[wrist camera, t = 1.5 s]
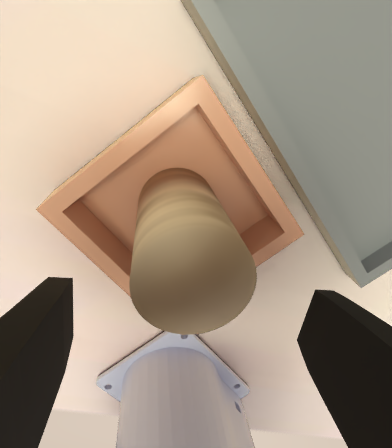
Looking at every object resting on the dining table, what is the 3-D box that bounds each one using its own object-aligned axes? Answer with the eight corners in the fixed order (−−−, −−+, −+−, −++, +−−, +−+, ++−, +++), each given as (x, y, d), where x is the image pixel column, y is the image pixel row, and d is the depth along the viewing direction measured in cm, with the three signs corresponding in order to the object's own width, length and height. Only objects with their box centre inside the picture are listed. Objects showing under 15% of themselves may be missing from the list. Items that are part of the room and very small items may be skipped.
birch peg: (228, 210, 18) (278, 289, 11) (170, 252, 19) (182, 353, 12) (184, 151, 17) (210, 199, 9) (122, 199, 17) (101, 279, 10)
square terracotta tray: (282, 214, 19) (304, 234, 17) (163, 297, 21) (165, 328, 18) (193, 77, 16) (203, 75, 13) (54, 190, 17) (35, 209, 14)
